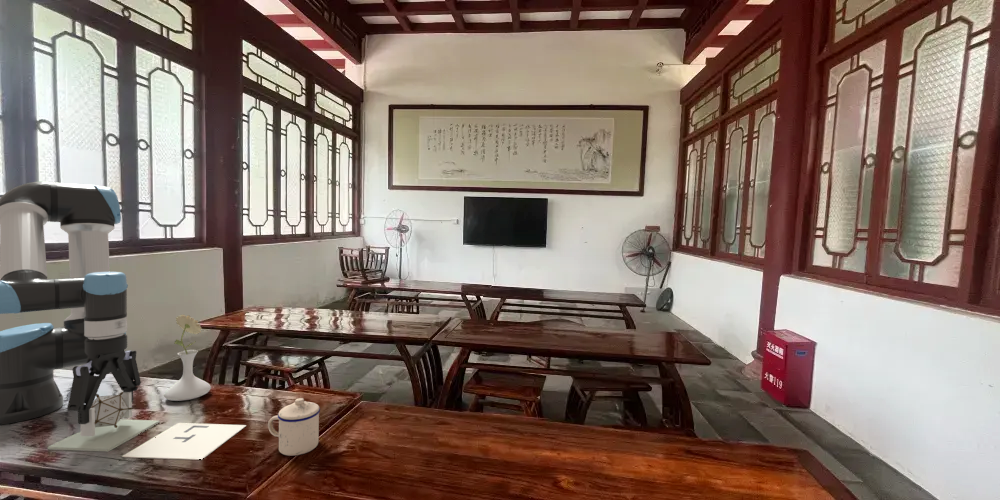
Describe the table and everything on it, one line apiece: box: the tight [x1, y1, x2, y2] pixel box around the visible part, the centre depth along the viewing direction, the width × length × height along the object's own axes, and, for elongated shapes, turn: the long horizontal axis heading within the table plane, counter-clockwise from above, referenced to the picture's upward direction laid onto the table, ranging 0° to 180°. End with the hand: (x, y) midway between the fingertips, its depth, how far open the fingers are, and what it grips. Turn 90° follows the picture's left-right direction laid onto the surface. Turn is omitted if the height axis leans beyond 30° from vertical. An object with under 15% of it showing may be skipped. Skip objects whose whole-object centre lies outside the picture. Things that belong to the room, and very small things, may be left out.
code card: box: [121, 422, 247, 461], centre depth 99 cm, size 18×16×1 cm
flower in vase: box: [163, 314, 212, 402], centre depth 124 cm, size 13×11×25 cm
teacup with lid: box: [267, 397, 321, 457], centre depth 98 cm, size 12×9×12 cm
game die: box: [91, 391, 134, 428], centre depth 100 cm, size 9×8×10 cm
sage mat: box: [47, 418, 161, 453], centre depth 100 cm, size 14×14×1 cm
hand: (107, 425), depth 100 cm, fingers closed on game die, 9 cm apart
